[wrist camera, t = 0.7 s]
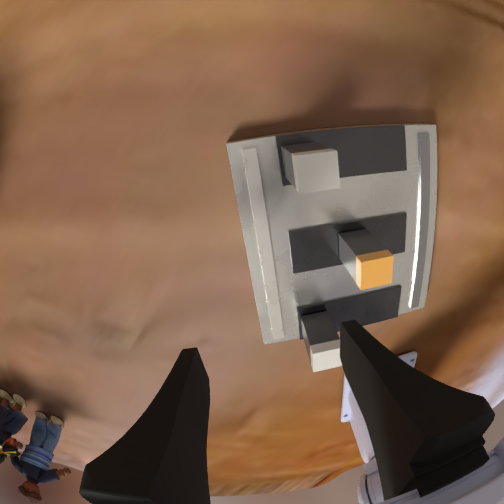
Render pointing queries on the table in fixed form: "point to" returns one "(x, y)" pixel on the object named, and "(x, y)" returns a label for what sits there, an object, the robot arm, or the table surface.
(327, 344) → the block
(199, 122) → the table surface
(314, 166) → the block
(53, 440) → the doll family
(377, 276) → the breaker
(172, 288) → the table surface
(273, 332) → the plate
